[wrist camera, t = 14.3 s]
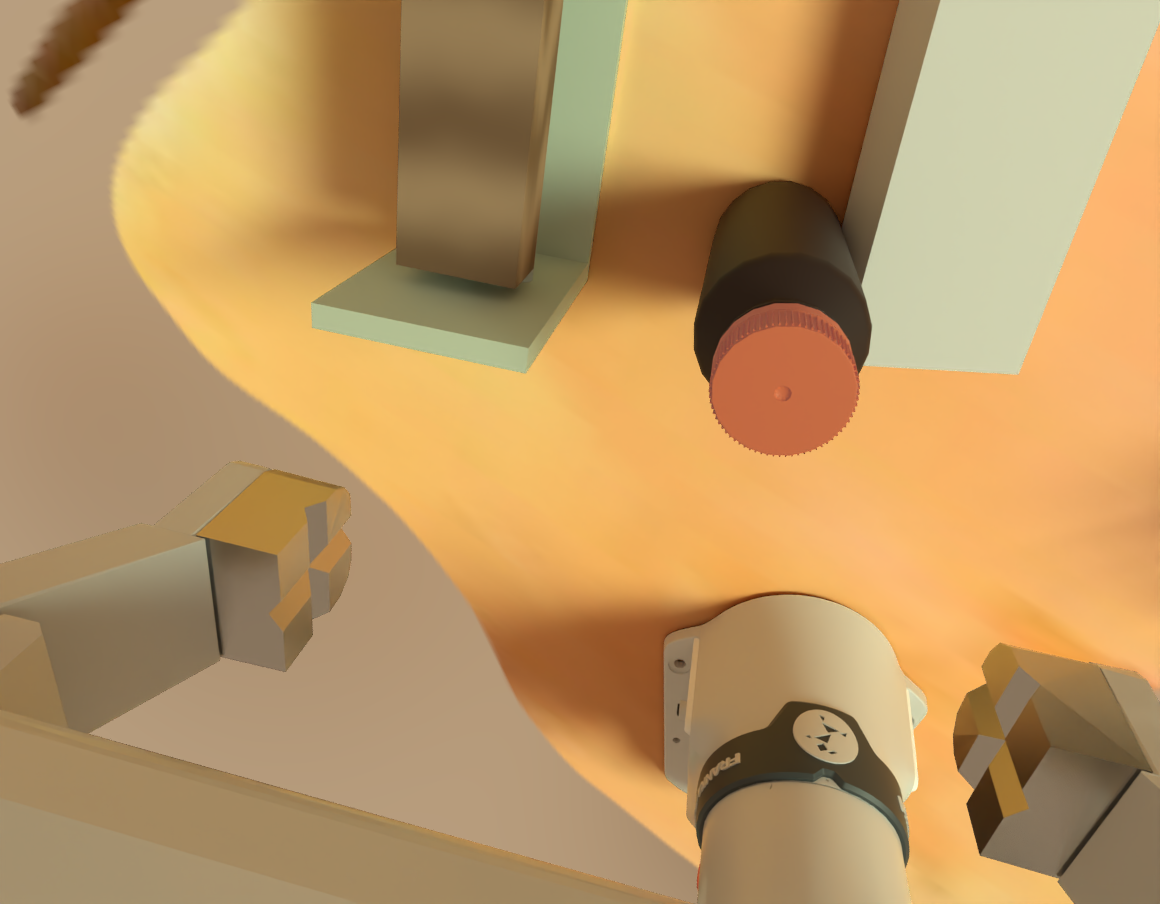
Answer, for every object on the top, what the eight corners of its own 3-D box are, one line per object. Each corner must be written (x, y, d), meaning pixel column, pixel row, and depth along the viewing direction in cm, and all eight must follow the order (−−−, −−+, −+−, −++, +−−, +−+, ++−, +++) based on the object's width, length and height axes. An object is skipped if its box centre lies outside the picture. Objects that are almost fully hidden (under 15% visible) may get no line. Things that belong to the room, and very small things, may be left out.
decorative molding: (1281, -509, 30) (1032, -556, 29) (1404, -588, 26) (1119, -647, 25) (973, 340, 47) (810, 330, 46) (1018, 374, 43) (839, 364, 42)
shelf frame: (587, 280, 47) (525, 373, 35) (425, 248, 48) (312, 327, 36) (643, -105, 37) (585, -160, 25) (440, -134, 38) (292, -200, 26)
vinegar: (726, 170, 42) (699, 279, 25) (855, 189, 42) (919, 313, 24) (703, 293, 46) (666, 461, 29) (823, 312, 45) (858, 497, 28)
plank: (434, -72, 34) (403, -80, 31) (569, -51, 34) (550, -57, 31) (422, 246, 41) (395, 264, 38) (533, 268, 41) (515, 289, 38)
